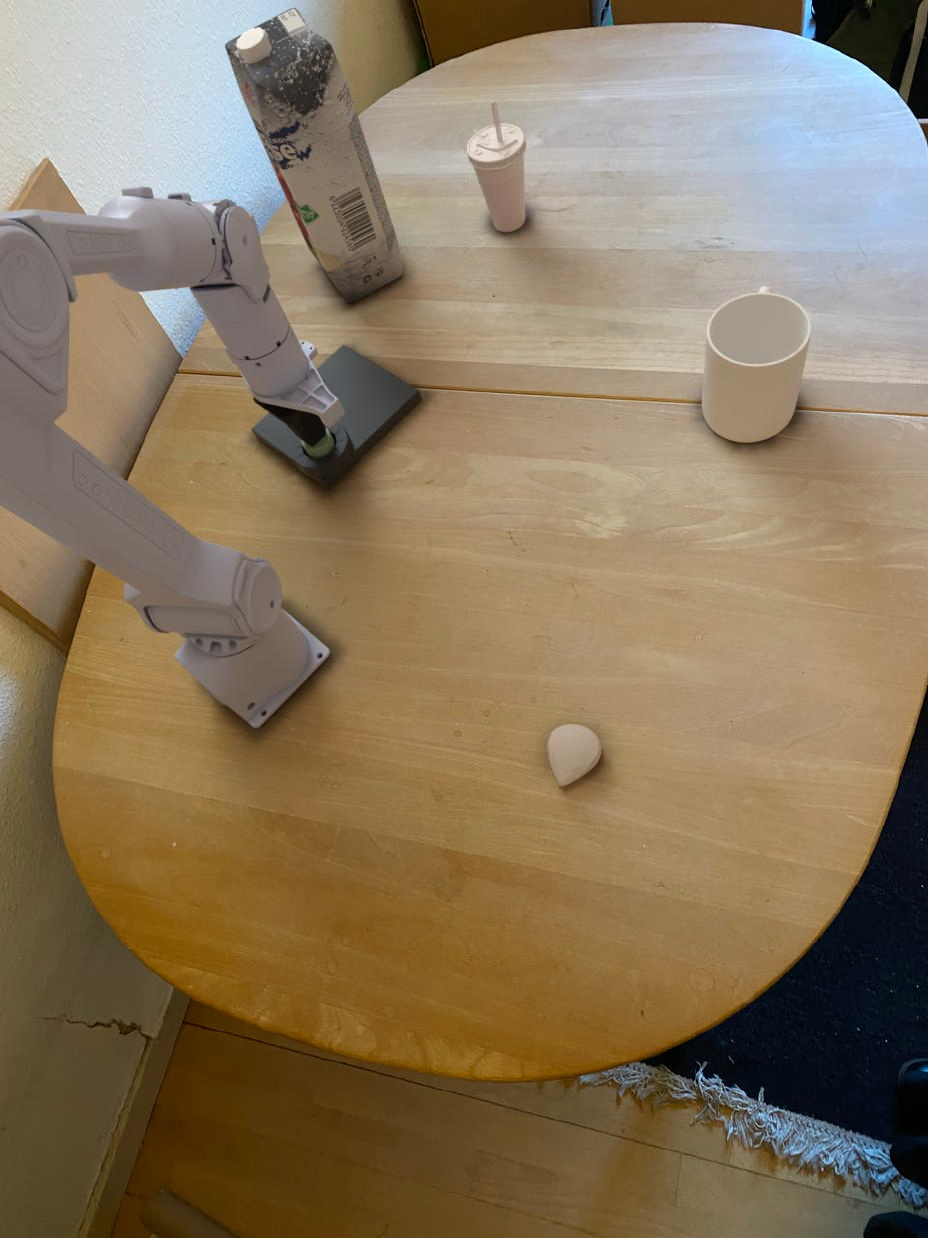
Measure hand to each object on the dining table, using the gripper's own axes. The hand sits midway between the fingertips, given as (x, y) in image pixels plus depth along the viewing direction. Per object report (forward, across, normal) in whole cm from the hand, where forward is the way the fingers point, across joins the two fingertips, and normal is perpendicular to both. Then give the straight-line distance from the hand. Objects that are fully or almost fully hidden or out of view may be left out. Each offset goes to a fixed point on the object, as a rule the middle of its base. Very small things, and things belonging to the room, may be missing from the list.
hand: (315, 437), depth 82 cm
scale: (+4, +4, -4) cm, 7 cm away
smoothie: (+4, +8, -36) cm, 37 cm away
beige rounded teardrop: (+4, -40, +8) cm, 41 cm away
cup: (+4, -30, -30) cm, 42 cm away
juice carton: (+4, +18, -22) cm, 28 cm away
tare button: (+2, 0, 0) cm, 2 cm away
